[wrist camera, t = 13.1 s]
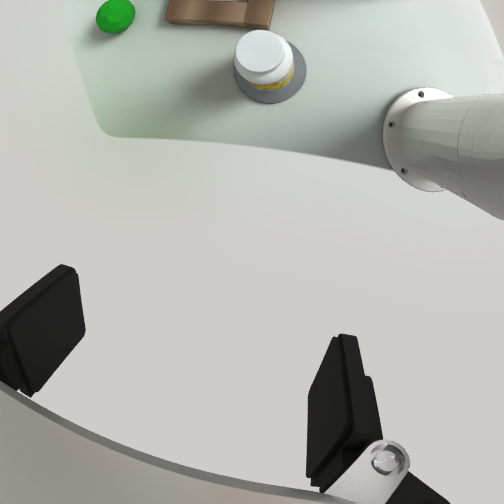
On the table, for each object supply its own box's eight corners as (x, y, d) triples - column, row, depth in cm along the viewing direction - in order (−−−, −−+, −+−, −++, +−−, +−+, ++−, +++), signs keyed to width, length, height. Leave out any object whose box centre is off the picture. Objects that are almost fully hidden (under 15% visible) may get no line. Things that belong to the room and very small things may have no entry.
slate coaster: (311, 45, 29) (311, 44, 29) (299, 109, 32) (299, 109, 32) (241, 34, 29) (240, 33, 29) (229, 97, 33) (228, 96, 32)
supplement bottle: (303, 64, 30) (305, 44, 21) (275, 101, 32) (268, 92, 23) (263, 39, 29) (251, 12, 20) (235, 75, 31) (214, 59, 22)
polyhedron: (138, 33, 30) (120, 24, 26) (107, 39, 31) (86, 32, 26) (143, 0, 28) (125, -11, 24) (111, 7, 29) (92, -1, 24)
